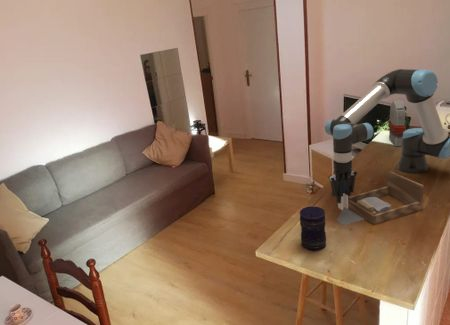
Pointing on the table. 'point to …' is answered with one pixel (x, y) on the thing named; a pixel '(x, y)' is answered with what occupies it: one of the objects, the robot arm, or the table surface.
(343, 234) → the table surface
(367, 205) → the offcut short
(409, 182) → the wooden tray
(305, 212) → the storage jar
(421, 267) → the table surface
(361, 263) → the table surface
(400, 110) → the grey red bottle
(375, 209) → the stone block
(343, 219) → the mat
